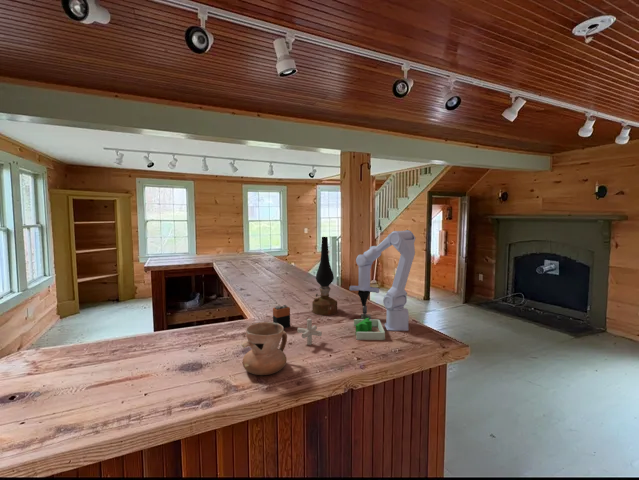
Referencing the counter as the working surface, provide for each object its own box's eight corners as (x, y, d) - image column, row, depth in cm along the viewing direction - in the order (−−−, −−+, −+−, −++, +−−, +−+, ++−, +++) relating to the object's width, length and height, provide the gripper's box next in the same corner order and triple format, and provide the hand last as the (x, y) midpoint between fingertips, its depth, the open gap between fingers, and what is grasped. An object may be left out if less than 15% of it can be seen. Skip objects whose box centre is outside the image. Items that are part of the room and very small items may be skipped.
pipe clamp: (363, 337, 134) (363, 326, 134) (355, 335, 136) (355, 325, 136) (374, 329, 143) (374, 319, 143) (366, 327, 145) (366, 317, 145)
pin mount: (370, 324, 148) (371, 316, 148) (361, 324, 148) (361, 316, 148) (370, 322, 151) (370, 314, 151) (361, 322, 152) (361, 314, 151)
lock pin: (368, 321, 149) (368, 310, 148) (364, 321, 149) (364, 310, 148) (366, 315, 157) (366, 305, 156) (362, 315, 157) (362, 305, 157)
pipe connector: (326, 341, 130) (326, 317, 129) (315, 351, 121) (315, 325, 120) (304, 337, 134) (303, 314, 133) (292, 346, 125) (291, 321, 124)
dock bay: (379, 325, 147) (379, 319, 146) (384, 339, 131) (385, 332, 131) (353, 325, 147) (353, 319, 147) (356, 339, 131) (356, 332, 131)
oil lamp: (341, 316, 171) (356, 242, 171) (326, 319, 158) (342, 239, 158) (319, 309, 178) (334, 238, 178) (304, 311, 165) (319, 235, 165)
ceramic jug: (255, 387, 96) (255, 341, 95) (230, 369, 106) (230, 328, 105) (300, 367, 109) (300, 326, 108) (274, 353, 119) (274, 316, 118)
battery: (272, 327, 145) (272, 305, 145) (285, 324, 149) (285, 303, 148) (277, 330, 142) (276, 308, 141) (290, 327, 146) (290, 305, 145)
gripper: (347, 279, 156) (347, 306, 158) (377, 281, 151) (376, 309, 152) (351, 276, 163) (351, 302, 164) (380, 278, 158) (379, 305, 159)
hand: (364, 305), depth 159 cm, fingers closed
